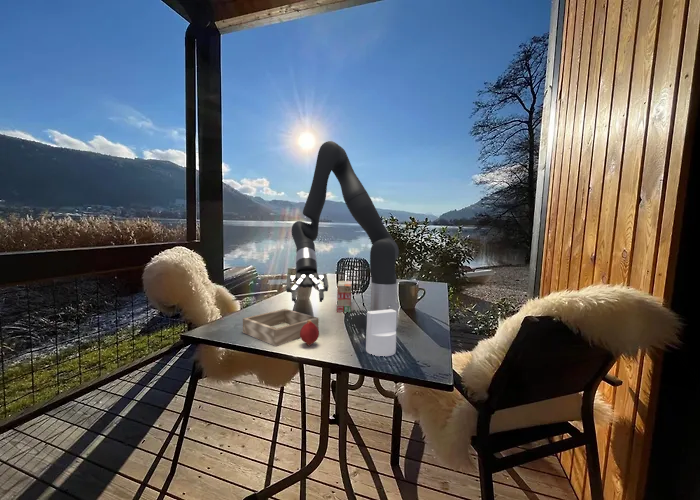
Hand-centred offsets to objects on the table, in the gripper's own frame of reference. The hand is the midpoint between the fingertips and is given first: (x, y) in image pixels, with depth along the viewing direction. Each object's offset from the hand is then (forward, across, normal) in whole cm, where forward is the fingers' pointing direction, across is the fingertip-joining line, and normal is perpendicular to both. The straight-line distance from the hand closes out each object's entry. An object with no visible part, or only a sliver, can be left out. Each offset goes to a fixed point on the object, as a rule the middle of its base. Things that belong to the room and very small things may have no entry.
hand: (308, 301), depth 100 cm
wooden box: (+4, -9, +14) cm, 17 cm away
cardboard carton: (-19, +20, +37) cm, 46 cm away
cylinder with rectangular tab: (+19, +21, -1) cm, 28 cm away
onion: (+14, 0, +4) cm, 14 cm away
